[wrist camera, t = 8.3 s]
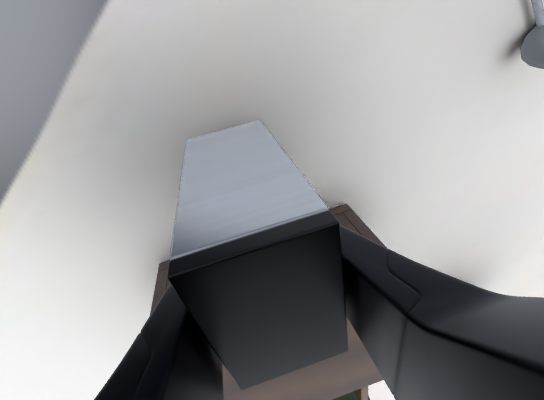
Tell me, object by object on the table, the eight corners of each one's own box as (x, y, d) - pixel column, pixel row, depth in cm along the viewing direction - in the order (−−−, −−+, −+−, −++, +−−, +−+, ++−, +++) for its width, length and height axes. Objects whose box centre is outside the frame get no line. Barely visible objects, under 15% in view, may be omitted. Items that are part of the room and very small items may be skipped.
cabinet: (352, 311, 28) (389, 377, 22) (221, 358, 27) (227, 440, 21) (347, 203, 20) (403, 265, 14) (159, 263, 19) (142, 356, 13)
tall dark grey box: (280, 208, 15) (349, 351, 8) (221, 226, 15) (240, 391, 8) (260, 118, 12) (340, 221, 5) (186, 139, 12) (165, 278, 5)
